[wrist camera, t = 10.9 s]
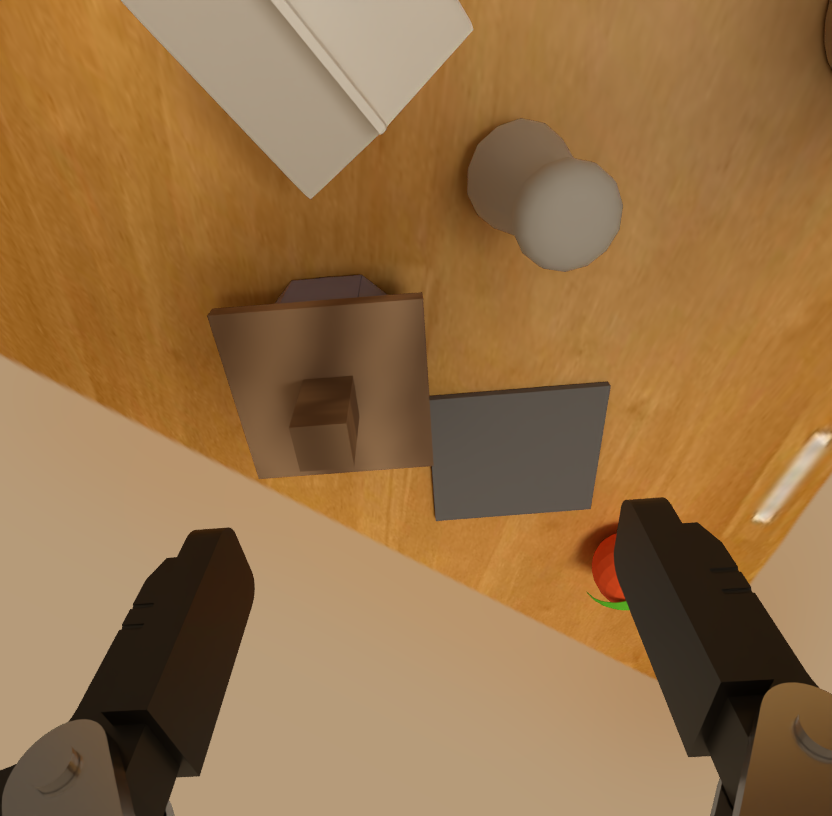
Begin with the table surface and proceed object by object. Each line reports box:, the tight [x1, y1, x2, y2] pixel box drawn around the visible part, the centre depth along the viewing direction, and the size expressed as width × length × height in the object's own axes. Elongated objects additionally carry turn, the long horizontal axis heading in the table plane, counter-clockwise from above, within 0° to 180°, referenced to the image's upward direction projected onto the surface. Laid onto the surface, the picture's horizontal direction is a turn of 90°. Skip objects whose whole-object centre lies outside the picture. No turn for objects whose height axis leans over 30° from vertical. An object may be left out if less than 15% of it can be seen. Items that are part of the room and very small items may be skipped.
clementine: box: [587, 533, 630, 610], centre depth 46 cm, size 8×7×7 cm
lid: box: [207, 292, 434, 479], centre depth 30 cm, size 12×12×6 cm
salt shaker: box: [467, 118, 623, 272], centre depth 25 cm, size 6×6×13 cm
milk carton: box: [121, 0, 473, 199], centre depth 19 cm, size 7×7×19 cm
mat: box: [429, 382, 610, 521], centre depth 42 cm, size 14×13×1 cm
